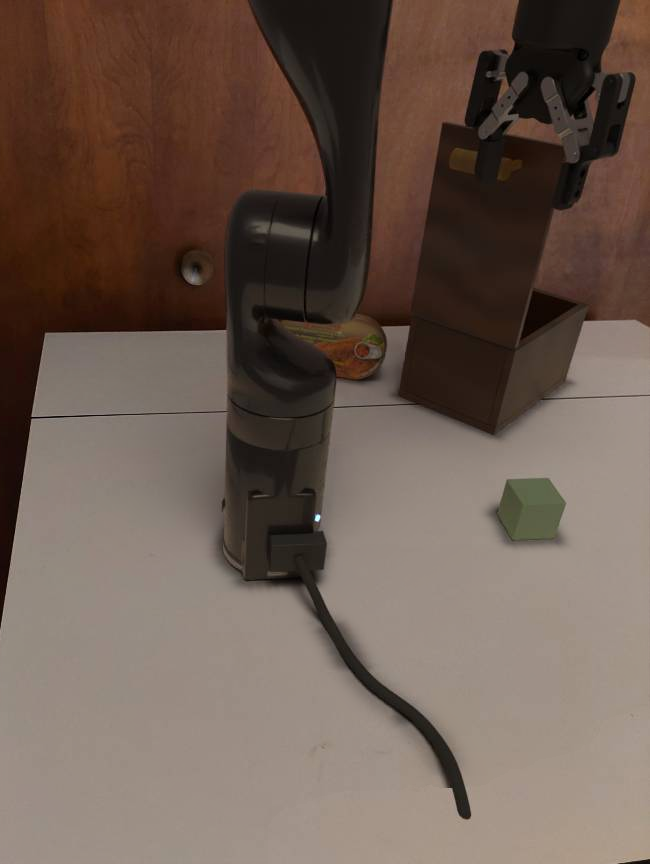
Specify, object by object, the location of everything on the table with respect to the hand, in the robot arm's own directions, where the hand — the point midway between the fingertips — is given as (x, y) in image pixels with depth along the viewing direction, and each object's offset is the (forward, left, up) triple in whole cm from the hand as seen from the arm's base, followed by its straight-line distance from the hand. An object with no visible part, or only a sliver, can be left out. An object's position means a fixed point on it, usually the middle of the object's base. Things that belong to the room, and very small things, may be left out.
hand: (522, 195), depth 71 cm
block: (-9, -4, -30) cm, 32 cm away
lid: (+14, -3, -8) cm, 17 cm away
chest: (+21, -10, -30) cm, 38 cm away
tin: (+27, +10, -30) cm, 42 cm away
